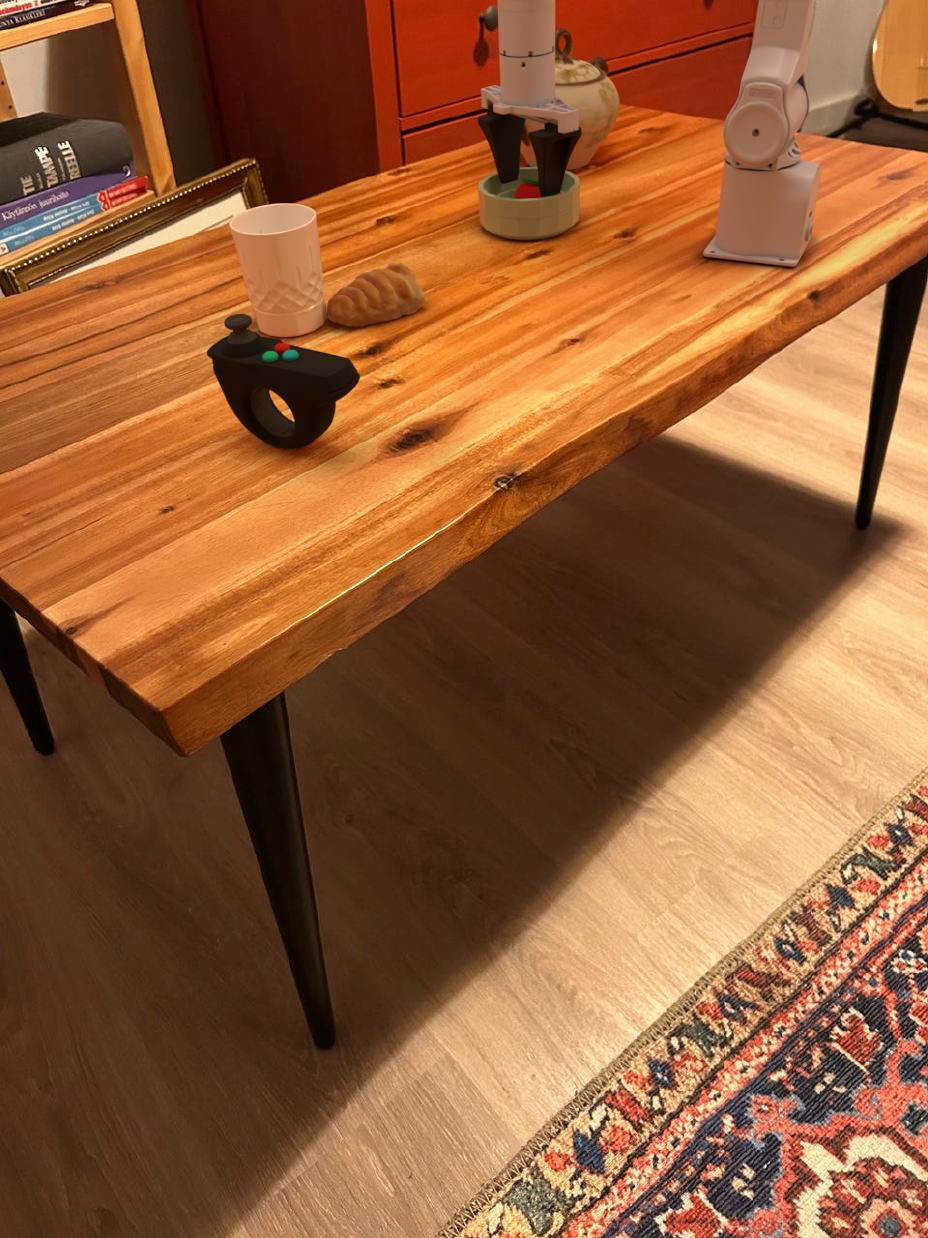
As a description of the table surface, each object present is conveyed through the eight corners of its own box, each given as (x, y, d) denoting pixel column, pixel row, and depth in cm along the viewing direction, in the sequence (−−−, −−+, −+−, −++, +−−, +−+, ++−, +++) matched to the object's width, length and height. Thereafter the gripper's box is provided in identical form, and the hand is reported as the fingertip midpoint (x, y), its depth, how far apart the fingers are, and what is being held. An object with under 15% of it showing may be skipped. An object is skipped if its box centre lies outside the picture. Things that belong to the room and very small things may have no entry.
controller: (253, 416, 81) (226, 301, 74) (377, 447, 76) (360, 327, 70) (220, 441, 78) (190, 324, 72) (346, 475, 73) (326, 353, 67)
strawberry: (551, 219, 111) (557, 180, 108) (538, 224, 108) (544, 184, 105) (519, 212, 112) (524, 173, 110) (505, 217, 109) (511, 177, 107)
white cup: (345, 309, 96) (330, 205, 89) (311, 344, 90) (292, 236, 84) (275, 302, 98) (255, 200, 92) (237, 336, 93) (213, 231, 86)
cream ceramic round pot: (559, 133, 136) (560, 8, 126) (649, 149, 128) (658, 18, 118) (467, 172, 125) (460, 40, 115) (559, 193, 117) (560, 53, 107)
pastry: (351, 339, 91) (346, 299, 88) (313, 318, 95) (307, 279, 92) (431, 308, 95) (427, 269, 92) (391, 289, 99) (387, 251, 97)
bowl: (592, 211, 112) (594, 171, 109) (557, 247, 105) (557, 204, 102) (504, 202, 116) (503, 163, 113) (464, 236, 109) (461, 194, 106)
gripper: (455, 47, 102) (463, 182, 111) (539, 69, 93) (540, 214, 102) (509, 35, 105) (512, 168, 114) (596, 55, 95) (592, 198, 104)
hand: (529, 189), depth 108 cm, fingers open, 7 cm apart
